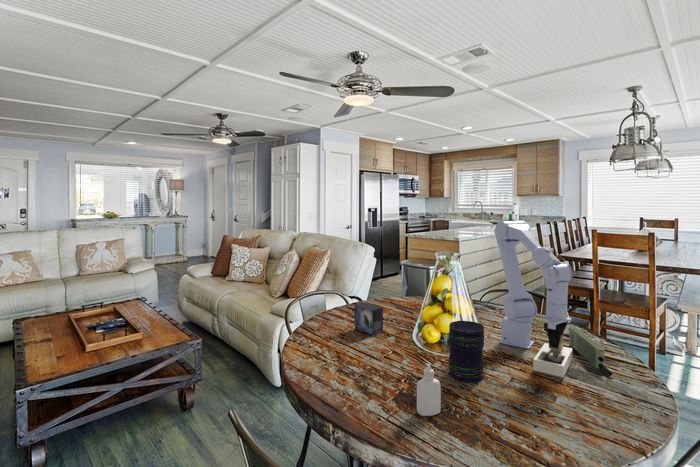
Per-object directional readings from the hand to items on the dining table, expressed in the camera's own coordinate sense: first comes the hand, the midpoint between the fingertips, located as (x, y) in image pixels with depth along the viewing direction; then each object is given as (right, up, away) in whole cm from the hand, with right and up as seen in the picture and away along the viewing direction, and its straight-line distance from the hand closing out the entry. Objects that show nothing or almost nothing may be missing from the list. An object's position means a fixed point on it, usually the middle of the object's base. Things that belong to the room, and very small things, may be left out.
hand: (555, 345), depth 118 cm
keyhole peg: (0, -5, 0) cm, 5 cm away
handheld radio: (+12, -6, +3) cm, 14 cm away
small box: (-57, -4, +31) cm, 65 cm away
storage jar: (-30, -7, -7) cm, 32 cm away
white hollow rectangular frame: (-1, -6, -1) cm, 6 cm away
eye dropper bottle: (-45, -9, -26) cm, 53 cm away
